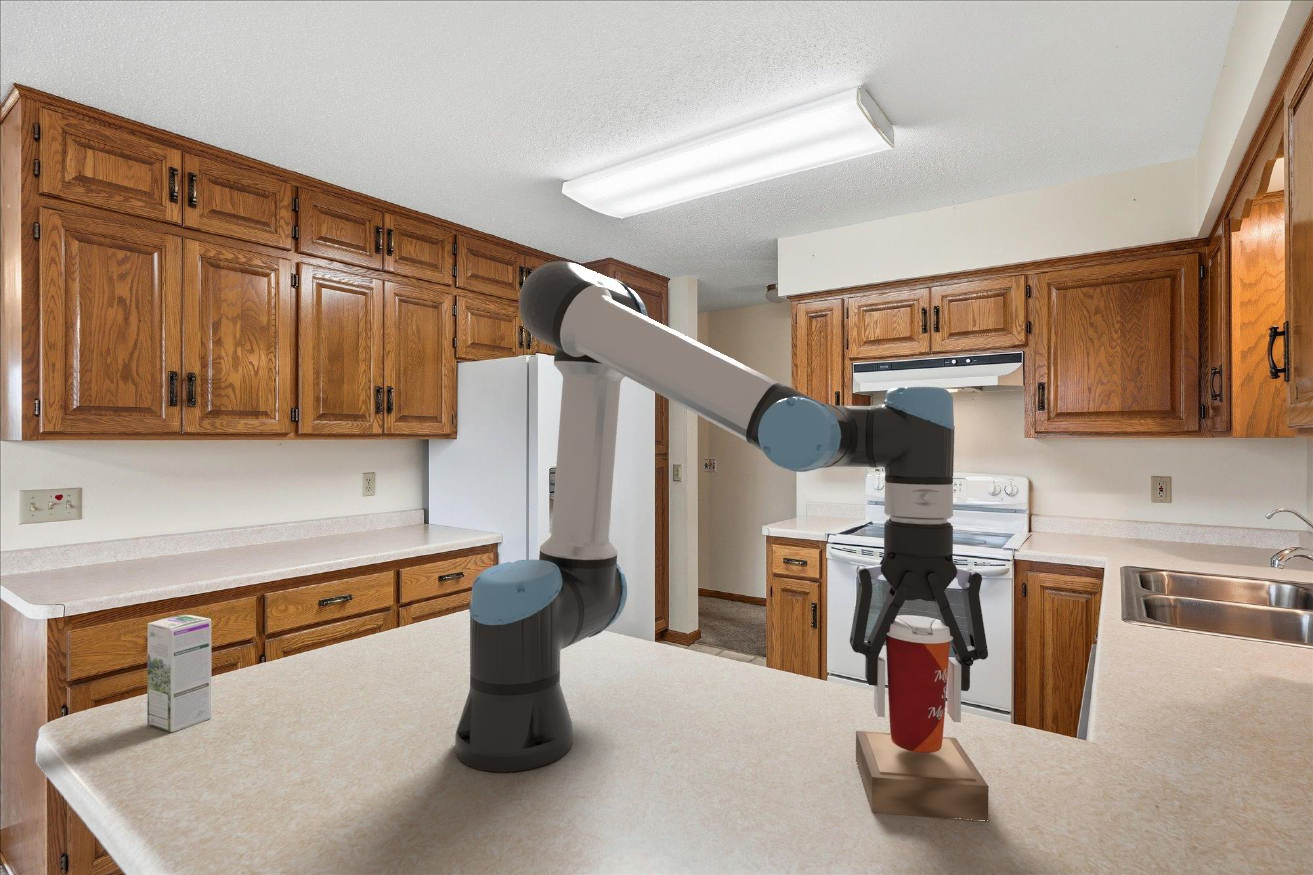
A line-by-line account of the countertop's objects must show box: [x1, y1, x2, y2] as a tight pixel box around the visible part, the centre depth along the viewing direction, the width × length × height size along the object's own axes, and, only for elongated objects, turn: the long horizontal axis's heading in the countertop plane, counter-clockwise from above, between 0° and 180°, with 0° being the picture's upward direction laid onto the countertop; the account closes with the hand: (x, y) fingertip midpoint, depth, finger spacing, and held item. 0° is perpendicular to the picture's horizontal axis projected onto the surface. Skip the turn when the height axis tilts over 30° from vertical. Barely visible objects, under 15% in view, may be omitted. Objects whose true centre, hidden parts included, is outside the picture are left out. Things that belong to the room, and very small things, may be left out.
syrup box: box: [146, 614, 212, 733], centre depth 95 cm, size 6×6×14 cm
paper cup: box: [885, 614, 953, 753], centre depth 79 cm, size 8×8×14 cm
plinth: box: [855, 730, 989, 821], centre depth 79 cm, size 12×12×4 cm
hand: (916, 714), depth 79 cm, fingers closed on paper cup, 8 cm apart
